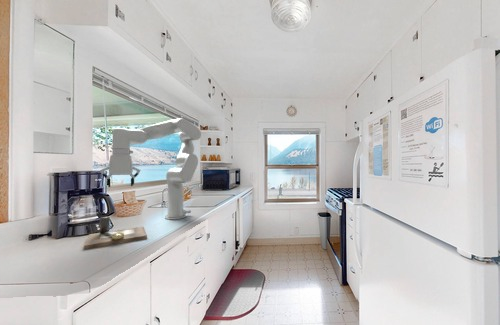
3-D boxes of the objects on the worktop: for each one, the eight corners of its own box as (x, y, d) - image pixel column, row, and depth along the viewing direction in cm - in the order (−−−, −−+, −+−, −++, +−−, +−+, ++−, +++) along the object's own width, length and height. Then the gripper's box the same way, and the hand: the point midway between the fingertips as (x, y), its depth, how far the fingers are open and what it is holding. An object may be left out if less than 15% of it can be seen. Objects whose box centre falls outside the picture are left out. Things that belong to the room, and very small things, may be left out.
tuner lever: (125, 237, 88) (126, 220, 88) (114, 240, 84) (115, 223, 84) (108, 231, 96) (108, 216, 96) (97, 234, 93) (97, 218, 93)
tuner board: (143, 229, 105) (143, 226, 105) (146, 238, 91) (147, 234, 91) (89, 237, 93) (89, 233, 93) (84, 249, 79) (84, 245, 80)
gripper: (139, 153, 111) (139, 185, 111) (100, 152, 102) (100, 186, 102) (141, 152, 105) (140, 186, 105) (99, 151, 96) (99, 188, 95)
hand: (120, 186), depth 103 cm, fingers open, 9 cm apart
